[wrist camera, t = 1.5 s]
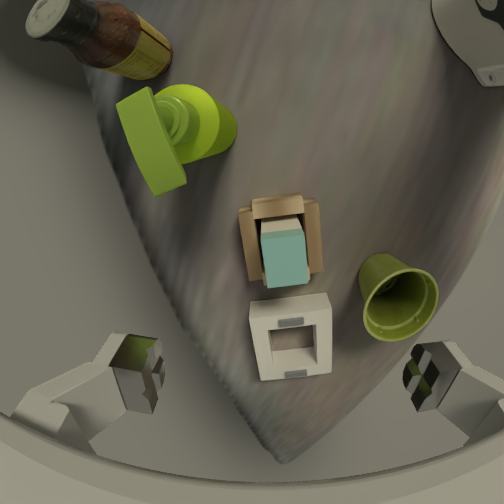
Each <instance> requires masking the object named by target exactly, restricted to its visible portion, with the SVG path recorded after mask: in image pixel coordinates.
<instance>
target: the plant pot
mask: <svg viewBox="0 0 504 504" xmlns="http://www.w3.org/2000/svg"><path fill="white" fill-rule="evenodd" d="M392 280H393V282H392V283H391V284H390V285H389V286H388V287H385V286H386V285H388V284H389V283H390V282H391V281H392ZM358 282H359V286H360V289H361V293H362V297H363V300H364V309H363V322H364V325H365V328H366V330H367V331H368V332H369V334H370V335H372V336H373V337H374V338H376V339H378V340H381V341H386V342H395V341H400V340H404V339H406V338H409V337H411V336H412V335H414V334H416V333H417V332H419V331H420V330H421V329H422V328H423V327H424V326H425V325H426V324H427V323H428V322H429V320H430V319H431V317H432V316H433V314H434V312H435V309H436V307H437V304H438V298H439V291H438V286H437V283H436V281H435V280H434V278H433V277H432V276H431V275H430V274H429V273H427V272H426V271H424V270H421V269H417V268H411V267H409V266H408V265H406V264H405V263H403V262H401V261H400V260H399V259H397V258H395V257H394V256H392V255H391V254H388V253H380V254H374V255H372V256H371V257H369V258H368V259H366V261H365V262H364V263H363V264H362V266H361V267H360V270H359V276H358Z"/></svg>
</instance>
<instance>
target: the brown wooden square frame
mask: <svg viewBox="0 0 504 504" xmlns="http://www.w3.org/2000/svg"><path fill="white" fill-rule="evenodd" d="M299 213H302V220H303V230H304V236H305V247H306V258H307V271H308V280H310V274H313V273H320V272H323V256H322V241H321V228H320V216H319V205H318V203H317V201H316V200H315V199H314V198H312V199H303V198H302V196H301V195H300V193H296V194H288V195H280V196H272V197H264V198H257V199H253V200H252V206H248V207H241V208H240V209H239V212H238V218H239V224H240V230H241V236H242V242H243V248H244V253H245V259H246V265H247V271H248V277H249V281H256V280H263V282H264V286H266V285H267V280H266V273H265V266H264V263H262V257H261V250H260V244H259V237H258V230H257V224H256V219H259V218H267V217H275V216H282V215H291V214H299Z"/></svg>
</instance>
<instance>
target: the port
mask: <svg viewBox="0 0 504 504" xmlns="http://www.w3.org/2000/svg"><path fill="white" fill-rule="evenodd" d="M249 322H250V327H251V333H252V338H253V343H254V348H255V353H256V358H257V363H258V368H259V373H260V378H261V381H264V380H275V379H285V378H294V377H302V376H310V375H318V374H324V373H331V372H332V307H331V305H330V302H329V299H328V296H327V294H326V292H325V293H317V294H310V295H302V296H294V297H286V298H278V299H269V300H260V301H251V302H250V311H249ZM307 325H313V339H314V346H313V347H306V348H298V349H290V350H281V351H273V347H272V340H271V333H270V330H274V329H283V328H291V327H300V326H307Z"/></svg>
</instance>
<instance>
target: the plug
mask: <svg viewBox="0 0 504 504" xmlns="http://www.w3.org/2000/svg"><path fill="white" fill-rule="evenodd" d="M261 246H262V252H263V259H264V266H265V273H266V280H267V287H268V288H274V287H282V286H291V285H299V284H307V283H308V271H307V258H306V247H305V236H304V232H303V230H302V227H301V225H300V222H299V220H298V217H297V215H296V214H291V215H282V216H275V217H267V218H262V221H261Z"/></svg>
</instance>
